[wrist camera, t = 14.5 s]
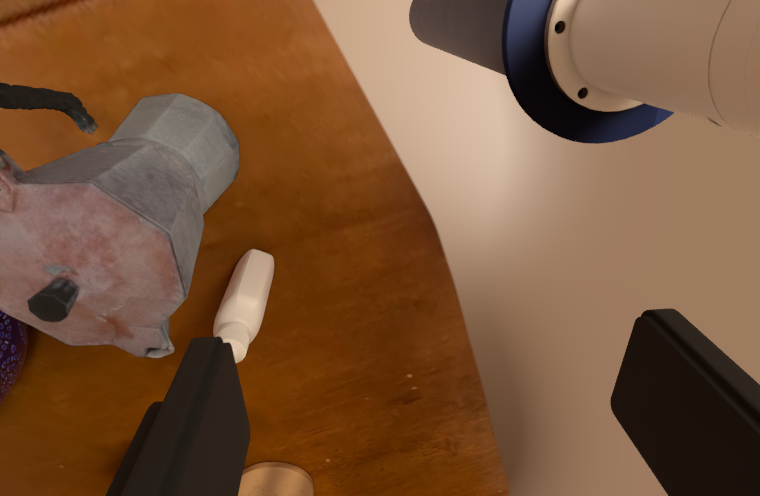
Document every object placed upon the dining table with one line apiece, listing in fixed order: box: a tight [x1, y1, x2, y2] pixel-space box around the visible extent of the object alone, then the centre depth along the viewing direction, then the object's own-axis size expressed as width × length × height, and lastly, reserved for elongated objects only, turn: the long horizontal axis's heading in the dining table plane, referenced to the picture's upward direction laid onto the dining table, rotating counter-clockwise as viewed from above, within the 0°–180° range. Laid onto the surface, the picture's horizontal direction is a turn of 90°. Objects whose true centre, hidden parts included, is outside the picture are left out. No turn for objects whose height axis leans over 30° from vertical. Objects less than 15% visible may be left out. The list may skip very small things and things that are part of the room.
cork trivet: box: [238, 462, 314, 496], centre depth 55 cm, size 10×10×1 cm
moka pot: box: [0, 83, 239, 358], centre depth 26 cm, size 10×15×20 cm, turn 27°
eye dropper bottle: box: [213, 249, 274, 363], centre depth 36 cm, size 4×6×12 cm
